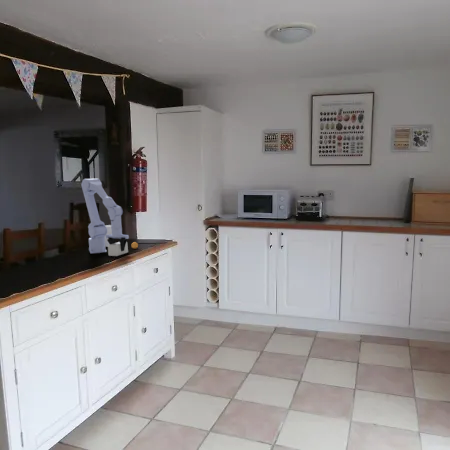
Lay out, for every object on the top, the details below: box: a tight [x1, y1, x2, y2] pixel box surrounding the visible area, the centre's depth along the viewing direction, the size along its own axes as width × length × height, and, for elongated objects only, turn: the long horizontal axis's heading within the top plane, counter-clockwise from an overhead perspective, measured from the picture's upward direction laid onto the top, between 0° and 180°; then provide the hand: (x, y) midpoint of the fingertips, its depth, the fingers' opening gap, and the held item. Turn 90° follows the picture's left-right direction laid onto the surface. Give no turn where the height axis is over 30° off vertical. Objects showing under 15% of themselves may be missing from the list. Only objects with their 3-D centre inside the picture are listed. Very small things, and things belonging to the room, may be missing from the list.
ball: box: [131, 241, 139, 250], centre depth 258 cm, size 4×4×4 cm
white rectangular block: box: [107, 241, 129, 257], centre depth 242 cm, size 11×6×6 cm, turn 159°
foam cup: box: [105, 224, 112, 248], centre depth 271 cm, size 10×9×13 cm
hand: (118, 250), depth 242 cm, fingers closed on white rectangular block, 6 cm apart
